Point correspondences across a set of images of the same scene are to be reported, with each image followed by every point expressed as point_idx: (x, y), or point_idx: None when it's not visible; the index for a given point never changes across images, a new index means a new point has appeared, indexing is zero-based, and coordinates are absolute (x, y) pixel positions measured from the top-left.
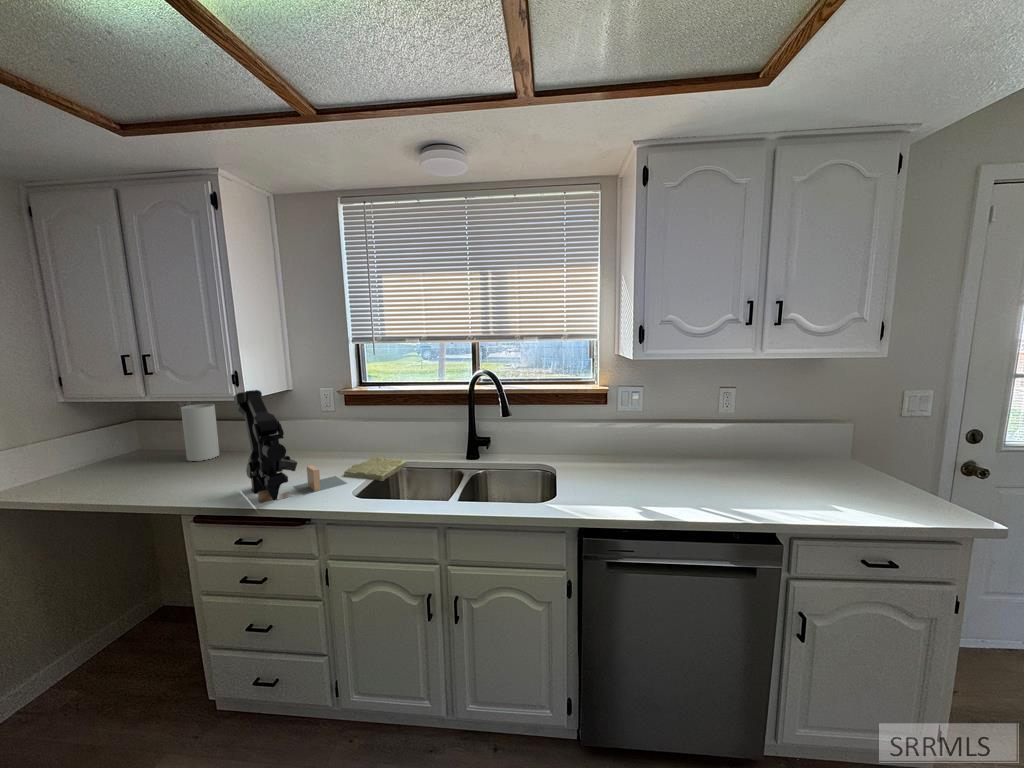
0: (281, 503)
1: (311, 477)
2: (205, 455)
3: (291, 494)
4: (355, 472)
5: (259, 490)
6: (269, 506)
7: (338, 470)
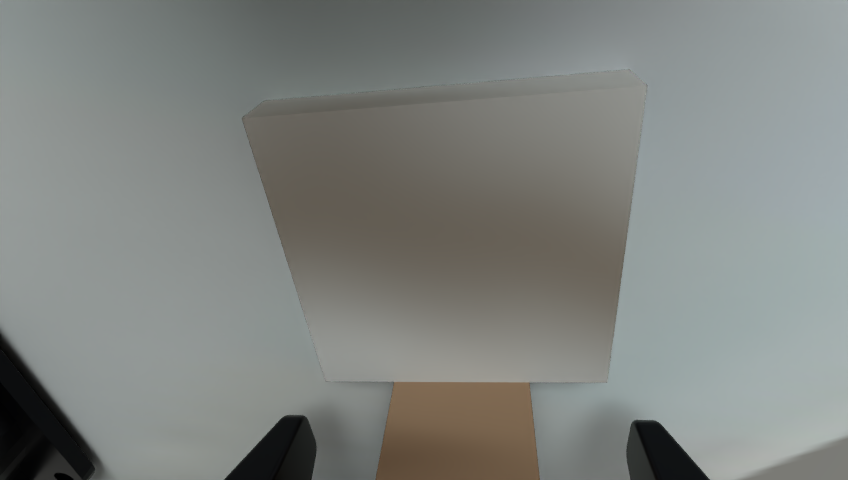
0: (760, 330)
1: None
2: None
3: (519, 107)
4: None
5: (9, 468)
6: (705, 458)
7: None
